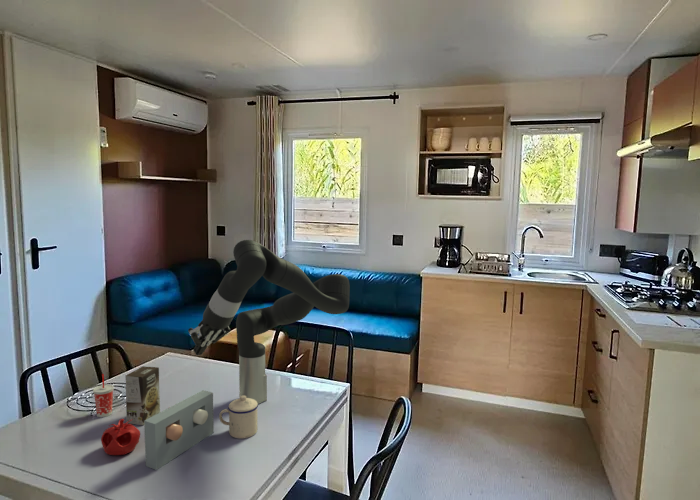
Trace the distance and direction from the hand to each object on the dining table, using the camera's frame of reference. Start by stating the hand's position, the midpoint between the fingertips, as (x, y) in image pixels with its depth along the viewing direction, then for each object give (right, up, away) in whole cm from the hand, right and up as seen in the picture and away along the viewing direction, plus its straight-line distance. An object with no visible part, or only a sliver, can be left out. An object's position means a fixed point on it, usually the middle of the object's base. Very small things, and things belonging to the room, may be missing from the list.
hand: (197, 352), depth 125 cm
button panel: (-7, -29, +6) cm, 31 cm away
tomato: (-24, -29, +5) cm, 38 cm away
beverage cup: (-40, -27, +26) cm, 55 cm away
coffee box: (-26, -27, +24) cm, 44 cm away
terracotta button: (-9, -24, +1) cm, 25 cm away
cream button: (-4, -23, +10) cm, 25 cm away
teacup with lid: (+8, -29, +16) cm, 34 cm away
